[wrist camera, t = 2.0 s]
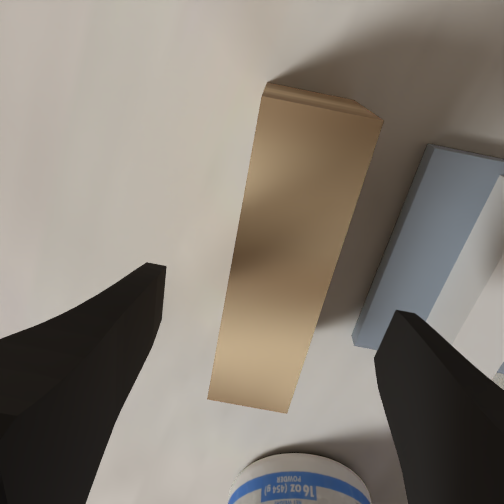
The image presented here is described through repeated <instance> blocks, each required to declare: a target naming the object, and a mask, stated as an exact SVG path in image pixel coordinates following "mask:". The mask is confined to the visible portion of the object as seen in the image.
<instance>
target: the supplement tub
mask: <svg viewBox="0 0 504 504" xmlns="http://www.w3.org/2000/svg"><path fill="white" fill-rule="evenodd" d="M228 504H372V502H371V498H370V494H369V492H368V489H367V487H366V486H365V484H364V482H363V481H362V480H361V479H360V477H359V476H358V475H356V474H355V473H354V472H353V471H352V470H351V469H349V468H348V467H346V466H344V465H343V464H341V463H339V462H336V461H334V460H332V459H329V458H326V457H322V456H318V455H312V454H304V453H287V454H278V455H273V456H269V457H266V458H263V459H260V460H258V461H256V462H254V463H252V464H250V465H249V466H247V467H246V468H245V469H244V470H243V471H242V472H241V473H240V474H239V475H238V476H237V477H236V479H235V481H234V482H233V484H232V486H231V489H230V492H229V498H228Z"/></svg>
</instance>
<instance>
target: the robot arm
mask: <svg viewBox="0 0 504 504" xmlns="http://www.w3.org/2000/svg"><path fill="white" fill-rule="evenodd" d="M165 277H166V266H163V265H158V264H152V263H145V264H144V265H142V266H140V267H139V268H137V269H136V270H134V271H133V272H131V273H130V274H129V275H127V276H126V277H124V278H123V279H121V280H120V281H118V282H117V283H115V284H114V285H112V286H110V287H109V288H107V289H106V290H104V291H103V292H101V293H99V294H98V295H96V296H94V297H93V298H91V299H89V300H87V301H85V302H84V303H82V304H80V305H78V306H77V307H75V308H73V309H71V310H69V311H67V312H65V313H63V314H61V315H59V316H57V317H54V318H52V319H50V320H48V321H45V322H43V323H41V324H39V325H36V326H34V327H31V328H28V329H26V330H23V331H20V332H18V333H15V334H12V335H10V336H7V337H4V338H2V339H0V504H86V501H87V498H88V495H89V492H90V490H91V487H92V484H93V481H94V479H95V476H96V473H97V470H98V468H99V465H100V462H101V459H102V457H103V454H104V451H105V449H106V446H107V443H108V441H109V438H110V435H111V433H112V430H113V427H114V425H115V422H116V420H117V418H118V416H119V413H120V411H121V409H122V407H123V405H124V403H125V401H126V399H127V397H128V395H129V393H130V391H131V389H132V387H133V385H134V383H135V381H136V379H137V377H138V375H139V373H140V371H141V369H142V367H143V365H144V362H145V360H146V358H147V356H148V354H149V352H150V350H151V348H152V346H153V343H154V340H155V337H156V334H157V331H158V329H159V326H160V323H161V320H162V310H163V299H164V288H165ZM374 362H375V370H376V377H377V383H378V389H379V393H380V396H381V400H382V403H383V407H384V410H385V414H386V417H387V420H388V424H389V427H390V430H391V434H392V437H393V440H394V444H395V447H396V450H397V454H398V457H399V461H400V465H401V469H402V473H403V478H404V483H405V489H406V494H407V499H408V504H504V390H503V389H501V388H500V387H499V386H498V385H497V384H495V383H494V382H493V381H492V380H491V379H489V378H488V377H487V376H486V375H485V374H483V373H482V372H481V371H480V370H479V369H477V368H476V367H475V366H474V365H473V364H472V363H471V362H469V361H468V360H467V359H466V358H465V357H464V356H463V355H462V354H461V353H459V352H458V351H457V350H456V349H455V348H454V347H453V346H452V345H451V344H450V343H449V342H447V341H446V340H445V339H444V338H443V337H442V336H441V335H440V334H439V333H438V332H437V331H436V330H434V329H433V328H432V327H431V326H430V325H429V324H428V323H427V322H425V321H424V320H423V319H422V318H421V317H419V316H418V315H417V314H415V313H412V312H406V311H401V310H395V313H394V315H393V317H392V319H391V321H390V324H389V326H388V328H387V330H386V333H385V335H384V337H383V339H382V341H381V344H380V346H379V348H378V350H377V353H376V355H375V357H374Z"/></svg>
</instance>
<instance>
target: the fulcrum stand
mask: <svg viewBox="0 0 504 504" xmlns="http://www.w3.org/2000/svg"><path fill="white" fill-rule="evenodd" d="M395 310H401V311H406V312H412V313H415V314H417V315H418V316H419V317H421V318H422V319H423V320H424V321H425V322H427V323H428V324H429V325H430V326H431V327H432V328H433V329H434V330H436V331H437V332H438V333H439V334H440V335H441V336H442V337H443V338H444V339H445V340H446V341H447V342H449V343H450V344H451V345H452V346H453V347H454V348H455V349H456V350H457V351H458V352H459V353H461V354H462V355H463V356H464V357H465V358H466V359H467V360H468V361H469V362H471V363H472V364H473V365H474V366H475V367H476V368H477V369H479V370H480V371H481V372H482V373H483V374H485V375H486V376H487V377H488V378H489V379H491V380H492V378H493V377H494V375H495V374H496V372H497V373H502V374H504V159H501V158H496V157H491V156H486V155H481V154H476V153H471V152H467V151H462V150H457V149H452V148H447V147H442V146H437V145H432V144H427V147H426V149H425V152H424V154H423V157H422V159H421V162H420V164H419V167H418V169H417V172H416V174H415V177H414V179H413V182H412V185H411V187H410V190H409V192H408V195H407V197H406V200H405V202H404V205H403V207H402V210H401V212H400V215H399V217H398V220H397V222H396V225H395V227H394V230H393V232H392V235H391V237H390V240H389V242H388V245H387V247H386V250H385V253H384V255H383V258H382V260H381V263H380V265H379V268H378V270H377V273H376V275H375V278H374V280H373V283H372V285H371V288H370V290H369V293H368V295H367V298H366V300H365V303H364V305H363V308H362V310H361V313H360V315H359V318H358V320H357V323H356V326H355V328H354V331H353V333H352V339H353V343H354V346H358V347H363V348H369V349H374V350H378V348H379V346H380V344H381V341H382V339H383V337H384V335H385V333H386V330H387V328H388V326H389V324H390V321H391V319H392V317H393V315H394V313H395Z"/></svg>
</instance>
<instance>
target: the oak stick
mask: <svg viewBox="0 0 504 504" xmlns="http://www.w3.org/2000/svg"><path fill="white" fill-rule="evenodd" d="M383 122H384V120H382V119H381V118H379V117H378V116H376V115H375V114H374V113H372V112H371V111H369V110H368V109H366V108H365V107H363V106H362V105H360V104H359V103H358V102H356V101H355V100H351V99H346V98H341V97H336V96H332V95H327V94H322V93H317V92H312V91H307V90H302V89H297V88H292V87H287V86H282V85H277V84H272V83H268V82H267V84H266V87H265V89H264V92H263V94H262V98H261V103H260V109H259V114H258V120H257V125H256V131H255V137H254V142H253V148H252V153H251V159H250V164H249V170H248V175H247V181H246V187H245V192H244V198H243V203H242V209H241V214H240V220H239V226H238V231H237V237H236V242H235V248H234V253H233V259H232V264H231V270H230V276H229V281H228V287H227V292H226V298H225V303H224V309H223V314H222V320H221V326H220V331H219V337H218V342H217V348H216V353H215V359H214V365H213V370H212V376H211V381H210V387H209V392H208V398H207V399H209V400H214V401H220V402H225V403H231V404H236V405H242V406H247V407H253V408H259V409H264V410H270V411H275V412H281V413H286V414H287V412H288V409H289V406H290V403H291V400H292V397H293V394H294V391H295V388H296V385H297V382H298V379H299V376H300V373H301V370H302V367H303V364H304V361H305V358H306V355H307V352H308V349H309V346H310V343H311V340H312V337H313V333H314V330H315V327H316V324H317V321H318V318H319V315H320V312H321V309H322V306H323V303H324V300H325V297H326V294H327V291H328V288H329V285H330V282H331V279H332V276H333V273H334V270H335V267H336V264H337V261H338V258H339V255H340V252H341V249H342V246H343V243H344V240H345V237H346V234H347V231H348V228H349V225H350V222H351V219H352V216H353V213H354V210H355V207H356V204H357V201H358V198H359V195H360V192H361V188H362V185H363V182H364V179H365V176H366V173H367V170H368V167H369V164H370V161H371V158H372V155H373V152H374V149H375V146H376V143H377V140H378V137H379V134H380V131H381V128H382V125H383Z"/></svg>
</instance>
